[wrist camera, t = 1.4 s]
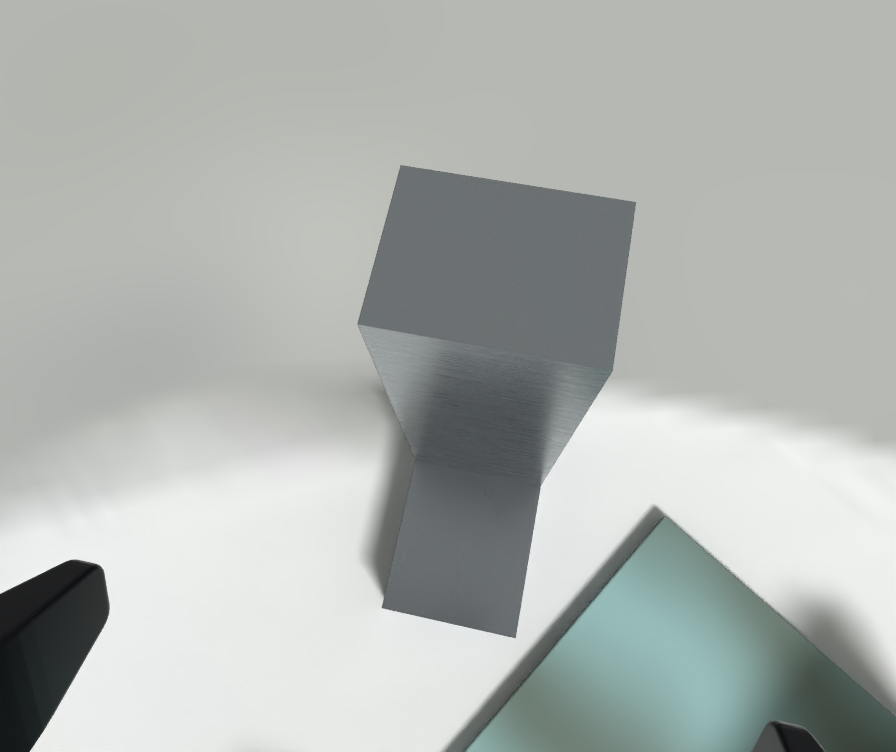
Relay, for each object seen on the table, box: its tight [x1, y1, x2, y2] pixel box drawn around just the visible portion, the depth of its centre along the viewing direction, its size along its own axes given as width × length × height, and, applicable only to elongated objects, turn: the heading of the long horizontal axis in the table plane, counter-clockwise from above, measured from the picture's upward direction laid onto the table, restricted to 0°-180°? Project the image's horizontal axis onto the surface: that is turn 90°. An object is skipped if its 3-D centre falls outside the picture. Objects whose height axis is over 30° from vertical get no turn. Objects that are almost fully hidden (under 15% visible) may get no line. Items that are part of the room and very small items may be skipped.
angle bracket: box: [358, 165, 636, 638], centre depth 16 cm, size 8×4×12 cm, turn 168°
